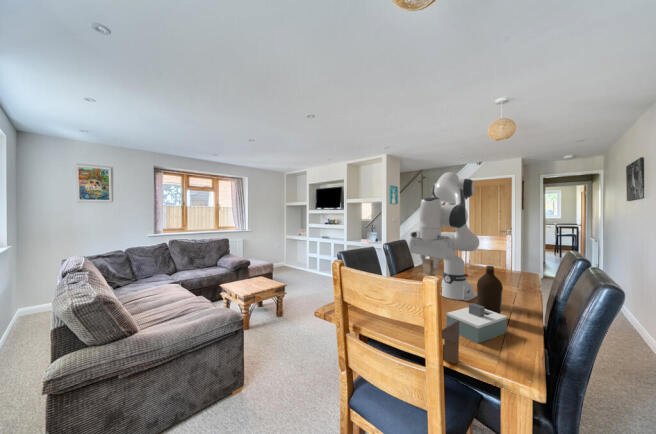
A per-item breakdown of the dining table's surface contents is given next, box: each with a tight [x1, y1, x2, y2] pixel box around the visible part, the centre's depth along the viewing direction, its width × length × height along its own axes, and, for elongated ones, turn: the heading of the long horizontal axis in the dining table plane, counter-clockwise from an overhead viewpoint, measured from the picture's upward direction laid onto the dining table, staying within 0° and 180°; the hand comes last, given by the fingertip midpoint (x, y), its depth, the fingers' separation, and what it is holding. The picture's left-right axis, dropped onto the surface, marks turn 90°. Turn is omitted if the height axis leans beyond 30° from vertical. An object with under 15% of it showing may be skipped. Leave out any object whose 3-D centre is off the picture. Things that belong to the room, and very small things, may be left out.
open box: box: [446, 313, 508, 344], centre depth 110 cm, size 20×14×6 cm
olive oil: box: [476, 265, 504, 315], centre depth 124 cm, size 11×11×25 cm
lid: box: [446, 302, 508, 328], centre depth 109 cm, size 20×14×5 cm
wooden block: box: [441, 320, 460, 365], centre depth 90 cm, size 4×11×18 cm, turn 38°
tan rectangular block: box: [422, 258, 437, 279], centre depth 110 cm, size 4×4×12 cm
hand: (429, 266), depth 109 cm, fingers closed on tan rectangular block, 3 cm apart
